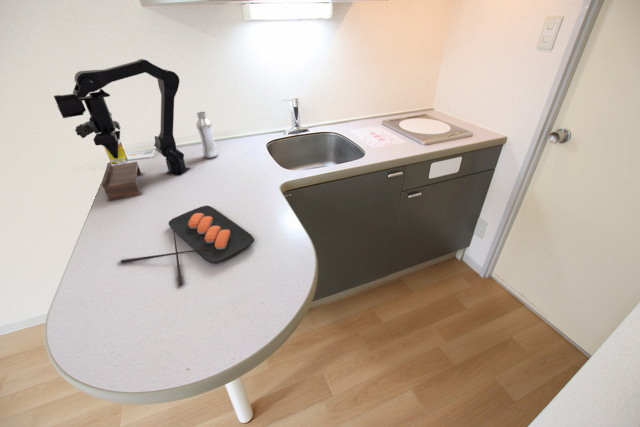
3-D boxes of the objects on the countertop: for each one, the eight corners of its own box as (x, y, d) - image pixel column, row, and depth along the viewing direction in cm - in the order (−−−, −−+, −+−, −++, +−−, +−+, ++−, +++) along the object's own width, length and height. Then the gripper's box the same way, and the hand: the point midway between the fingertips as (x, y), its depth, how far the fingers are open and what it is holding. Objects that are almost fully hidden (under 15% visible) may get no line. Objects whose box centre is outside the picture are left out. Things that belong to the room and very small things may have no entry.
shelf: (114, 178, 126) (107, 162, 123) (141, 173, 130) (135, 158, 126) (109, 201, 111) (101, 183, 107) (140, 194, 114) (133, 177, 111)
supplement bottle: (130, 162, 115) (120, 135, 109) (114, 167, 112) (102, 140, 106) (125, 158, 118) (114, 132, 113) (109, 163, 115) (97, 136, 109)
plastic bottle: (221, 154, 145) (212, 111, 134) (211, 160, 140) (201, 115, 129) (211, 152, 147) (201, 110, 136) (201, 158, 142) (189, 114, 131)
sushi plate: (259, 245, 88) (257, 234, 86) (151, 306, 70) (146, 294, 68) (208, 208, 105) (206, 198, 103) (112, 250, 88) (106, 239, 86)
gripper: (76, 108, 109) (94, 150, 118) (65, 122, 95) (87, 169, 104) (112, 104, 113) (127, 145, 122) (106, 117, 99) (124, 162, 107)
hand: (116, 155), depth 113 cm, fingers closed on supplement bottle, 5 cm apart
